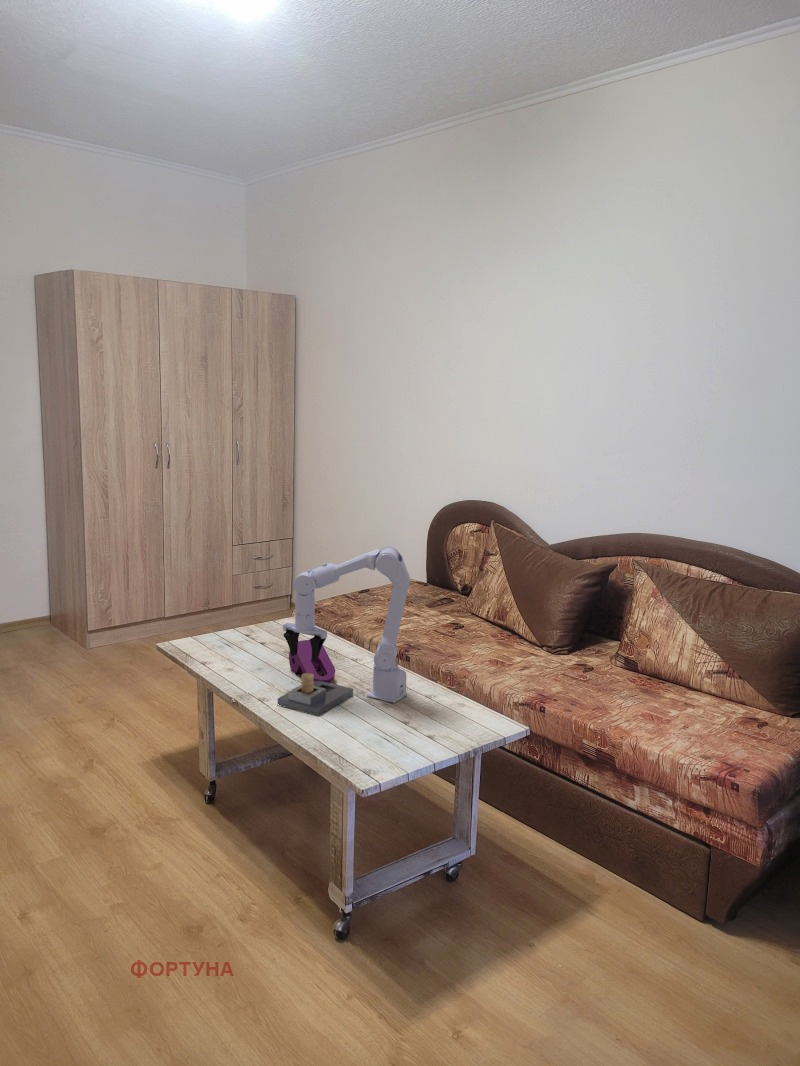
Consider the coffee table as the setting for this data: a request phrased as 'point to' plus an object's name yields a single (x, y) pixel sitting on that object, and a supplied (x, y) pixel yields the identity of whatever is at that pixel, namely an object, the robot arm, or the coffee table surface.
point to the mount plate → (316, 698)
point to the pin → (307, 683)
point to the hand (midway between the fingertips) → (304, 657)
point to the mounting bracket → (312, 662)
